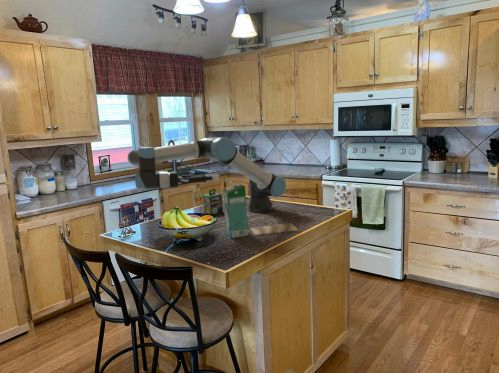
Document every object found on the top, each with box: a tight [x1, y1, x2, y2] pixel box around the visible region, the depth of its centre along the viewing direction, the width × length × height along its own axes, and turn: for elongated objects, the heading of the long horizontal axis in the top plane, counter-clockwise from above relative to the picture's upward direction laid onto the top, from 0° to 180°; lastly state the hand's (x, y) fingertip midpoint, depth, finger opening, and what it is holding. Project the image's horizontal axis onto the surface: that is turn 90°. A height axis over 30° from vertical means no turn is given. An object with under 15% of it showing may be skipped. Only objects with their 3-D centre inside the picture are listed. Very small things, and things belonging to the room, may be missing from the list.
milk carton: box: [222, 183, 249, 239], centre depth 193 cm, size 9×9×25 cm
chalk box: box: [202, 188, 224, 216], centre depth 240 cm, size 9×9×15 cm
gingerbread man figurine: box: [118, 212, 137, 235], centre depth 206 cm, size 9×4×12 cm, turn 143°
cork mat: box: [250, 222, 299, 237], centre depth 199 cm, size 22×12×1 cm, turn 100°
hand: (218, 177), depth 189 cm, fingers closed
